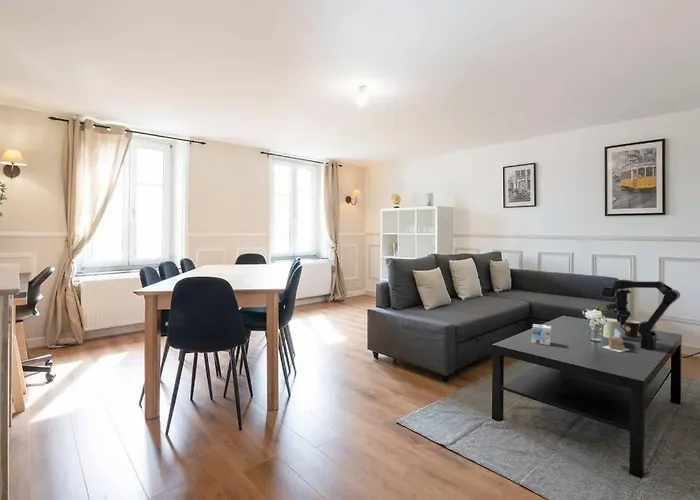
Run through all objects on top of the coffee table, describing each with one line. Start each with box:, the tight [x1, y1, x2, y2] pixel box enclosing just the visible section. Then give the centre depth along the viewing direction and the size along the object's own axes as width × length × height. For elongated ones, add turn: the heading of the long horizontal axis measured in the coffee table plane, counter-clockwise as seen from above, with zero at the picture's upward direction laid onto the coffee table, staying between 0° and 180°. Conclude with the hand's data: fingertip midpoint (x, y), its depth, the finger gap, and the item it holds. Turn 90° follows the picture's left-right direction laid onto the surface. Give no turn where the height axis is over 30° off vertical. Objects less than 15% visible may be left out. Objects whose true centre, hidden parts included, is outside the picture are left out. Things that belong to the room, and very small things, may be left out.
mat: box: [602, 344, 630, 353], centre depth 231 cm, size 10×10×1 cm
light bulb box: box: [531, 323, 552, 346], centre depth 242 cm, size 11×7×11 cm, turn 62°
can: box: [602, 317, 621, 339], centre depth 255 cm, size 9×9×12 cm
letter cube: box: [608, 336, 624, 350], centre depth 231 cm, size 6×6×6 cm
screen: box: [614, 329, 626, 348], centre depth 240 cm, size 14×5×8 cm, turn 155°
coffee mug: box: [620, 319, 641, 339], centre depth 259 cm, size 12×9×10 cm
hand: (620, 323), depth 243 cm, fingers open, 9 cm apart
